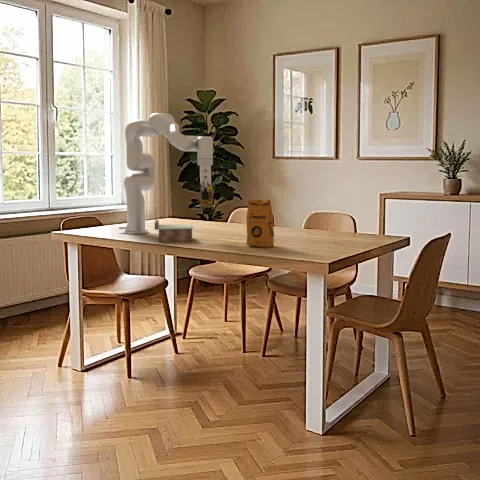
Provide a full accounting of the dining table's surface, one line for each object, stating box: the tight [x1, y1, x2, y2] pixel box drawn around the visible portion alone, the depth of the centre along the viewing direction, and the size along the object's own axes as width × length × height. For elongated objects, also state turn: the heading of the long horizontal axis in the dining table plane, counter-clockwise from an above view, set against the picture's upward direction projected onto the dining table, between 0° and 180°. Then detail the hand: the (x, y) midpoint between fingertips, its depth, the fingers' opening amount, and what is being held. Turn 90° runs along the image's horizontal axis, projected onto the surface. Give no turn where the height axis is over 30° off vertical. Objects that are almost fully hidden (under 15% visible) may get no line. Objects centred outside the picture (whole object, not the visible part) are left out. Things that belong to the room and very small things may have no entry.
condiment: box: [195, 182, 214, 208], centre depth 307 cm, size 7×8×12 cm
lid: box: [154, 219, 193, 231], centre depth 307 cm, size 18×12×3 cm
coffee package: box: [245, 198, 275, 249], centre depth 287 cm, size 10×12×22 cm
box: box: [158, 229, 193, 243], centre depth 308 cm, size 16×12×6 cm
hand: (205, 198), depth 307 cm, fingers closed on condiment, 6 cm apart
